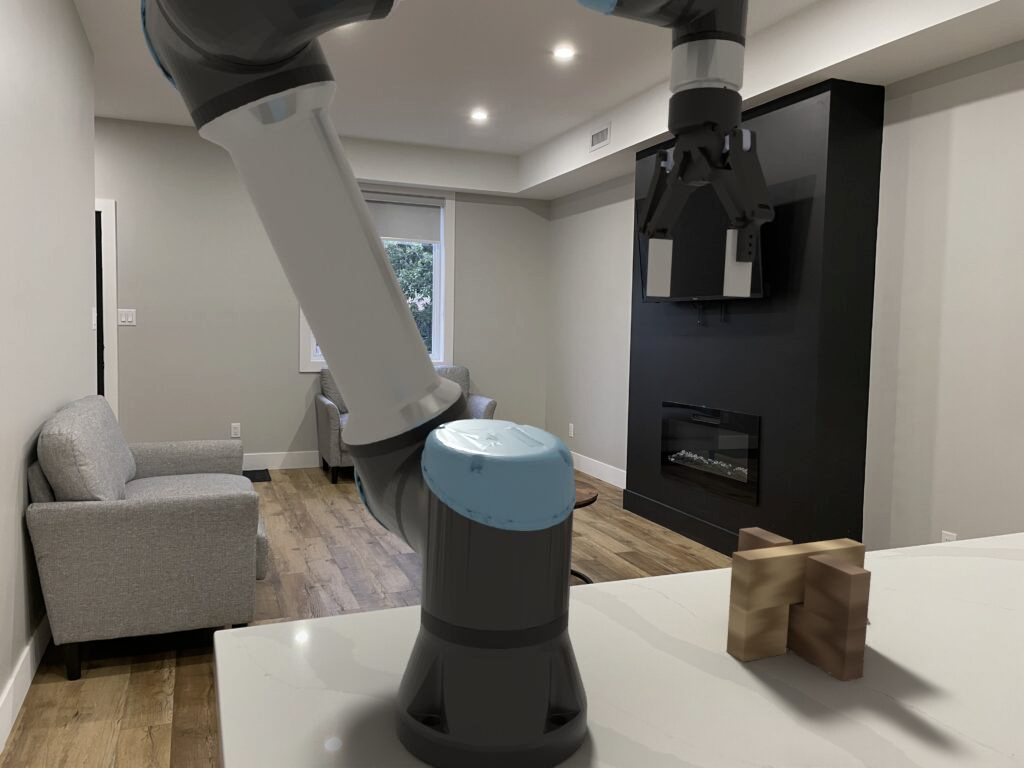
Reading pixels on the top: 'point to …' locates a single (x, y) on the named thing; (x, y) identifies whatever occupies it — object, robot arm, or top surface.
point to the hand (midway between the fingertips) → (694, 296)
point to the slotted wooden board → (824, 609)
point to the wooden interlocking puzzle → (773, 593)
